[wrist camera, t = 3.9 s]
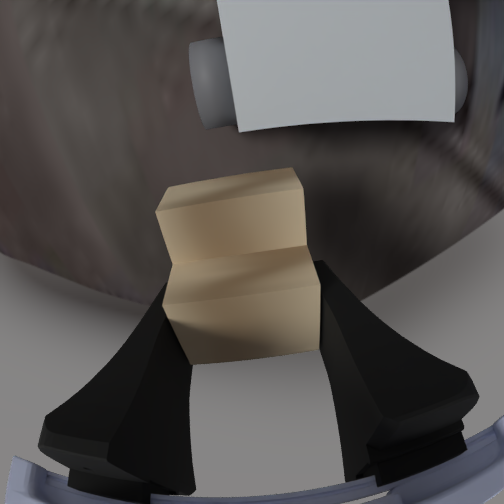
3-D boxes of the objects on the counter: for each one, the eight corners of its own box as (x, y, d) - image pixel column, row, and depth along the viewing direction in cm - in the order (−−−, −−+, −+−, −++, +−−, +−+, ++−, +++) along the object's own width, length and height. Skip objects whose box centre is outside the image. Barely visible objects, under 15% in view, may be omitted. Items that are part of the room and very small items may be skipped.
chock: (292, 167, 10) (319, 220, 7) (300, 277, 13) (319, 349, 10) (168, 187, 11) (137, 247, 7) (199, 291, 13) (191, 364, 10)
